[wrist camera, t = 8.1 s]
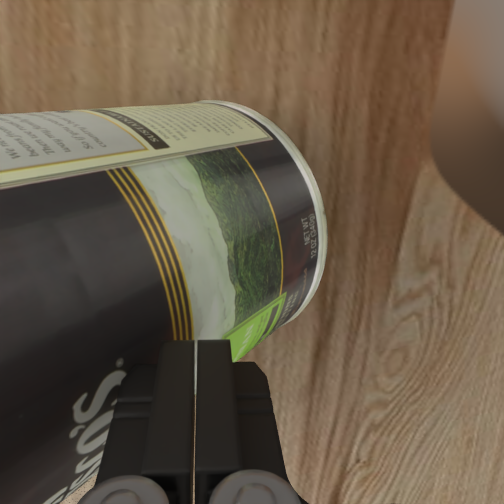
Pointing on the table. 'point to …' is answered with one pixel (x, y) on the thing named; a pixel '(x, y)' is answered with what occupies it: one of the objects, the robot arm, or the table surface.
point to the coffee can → (135, 263)
